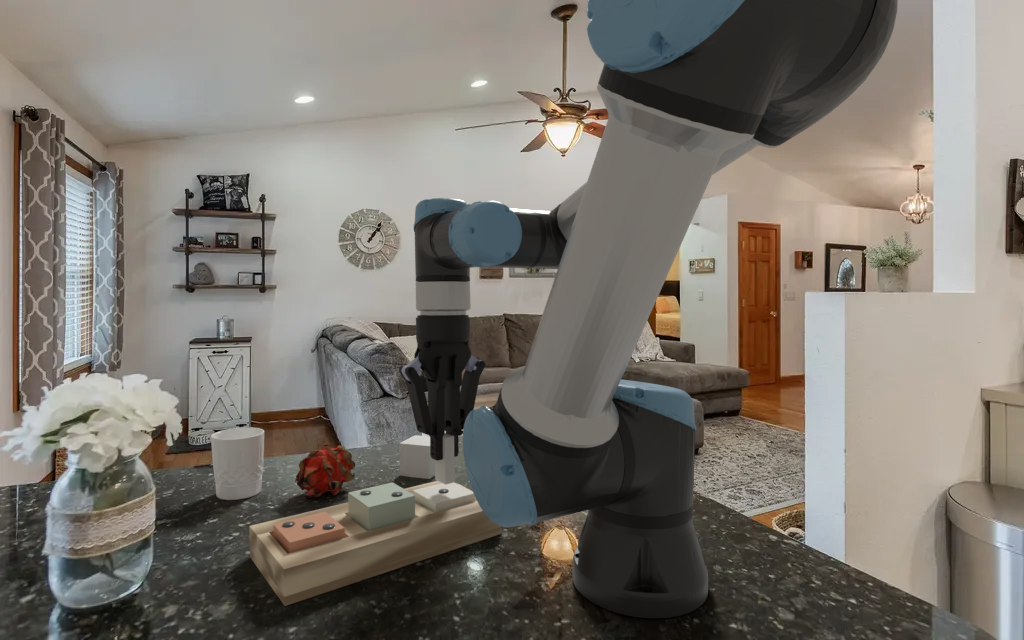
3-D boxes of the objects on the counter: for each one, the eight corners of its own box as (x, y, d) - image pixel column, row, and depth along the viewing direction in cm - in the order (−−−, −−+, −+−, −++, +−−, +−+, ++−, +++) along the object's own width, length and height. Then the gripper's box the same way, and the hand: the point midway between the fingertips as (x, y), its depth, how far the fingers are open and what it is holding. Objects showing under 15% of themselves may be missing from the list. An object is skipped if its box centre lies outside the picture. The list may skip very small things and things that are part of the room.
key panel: (501, 533, 78) (501, 505, 78) (284, 606, 60) (283, 569, 60) (447, 503, 89) (447, 478, 89) (250, 557, 71) (249, 525, 71)
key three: (345, 560, 68) (344, 526, 68) (290, 577, 64) (289, 541, 64) (325, 541, 73) (325, 510, 73) (273, 556, 69) (273, 522, 69)
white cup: (201, 498, 91) (199, 436, 91) (239, 482, 99) (237, 425, 98) (239, 504, 89) (238, 441, 88) (276, 487, 96) (274, 429, 96)
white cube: (415, 466, 108) (414, 435, 108) (443, 469, 107) (443, 437, 106) (399, 476, 103) (399, 443, 102) (429, 479, 101) (429, 446, 101)
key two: (415, 525, 74) (415, 494, 74) (369, 539, 70) (368, 506, 70) (392, 510, 79) (392, 481, 79) (348, 522, 75) (348, 491, 75)
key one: (475, 520, 80) (475, 491, 80) (435, 532, 76) (435, 502, 76) (450, 507, 85) (450, 479, 85) (412, 517, 81) (412, 489, 81)
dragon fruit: (355, 490, 100) (307, 526, 89) (320, 458, 101) (269, 490, 90) (375, 456, 96) (328, 489, 86) (338, 424, 98) (288, 453, 87)
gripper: (467, 311, 86) (468, 466, 87) (387, 313, 78) (390, 483, 79) (496, 312, 80) (498, 478, 81) (414, 315, 72) (416, 498, 73)
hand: (444, 480), depth 80 cm, fingers closed
